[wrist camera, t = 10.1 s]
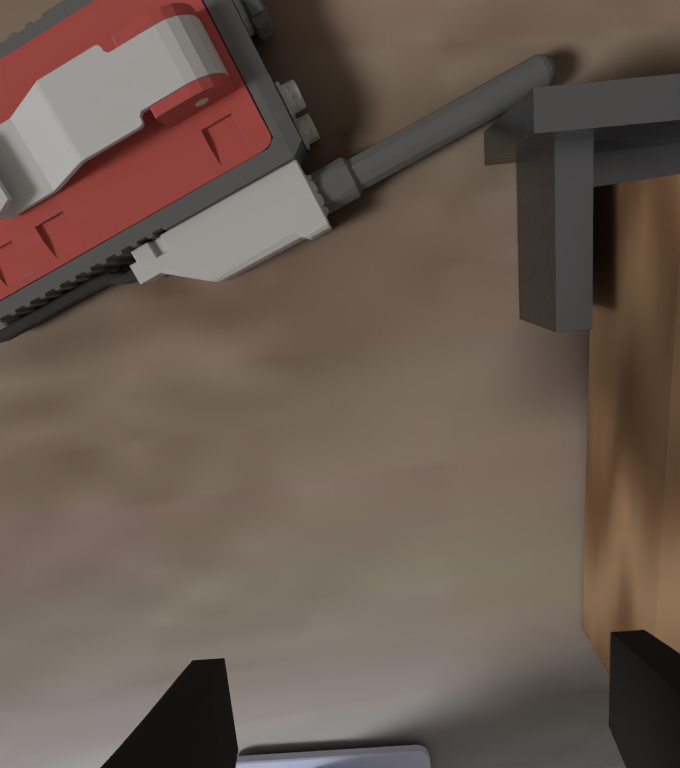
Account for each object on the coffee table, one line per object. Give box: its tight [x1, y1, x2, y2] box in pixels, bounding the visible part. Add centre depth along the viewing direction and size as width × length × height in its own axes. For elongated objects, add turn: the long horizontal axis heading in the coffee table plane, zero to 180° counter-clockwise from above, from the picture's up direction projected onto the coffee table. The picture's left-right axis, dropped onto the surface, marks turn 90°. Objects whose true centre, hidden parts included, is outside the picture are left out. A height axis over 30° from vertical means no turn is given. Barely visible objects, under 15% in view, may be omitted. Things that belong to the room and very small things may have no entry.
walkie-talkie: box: [0, 0, 556, 343], centre depth 17 cm, size 9×4×20 cm
